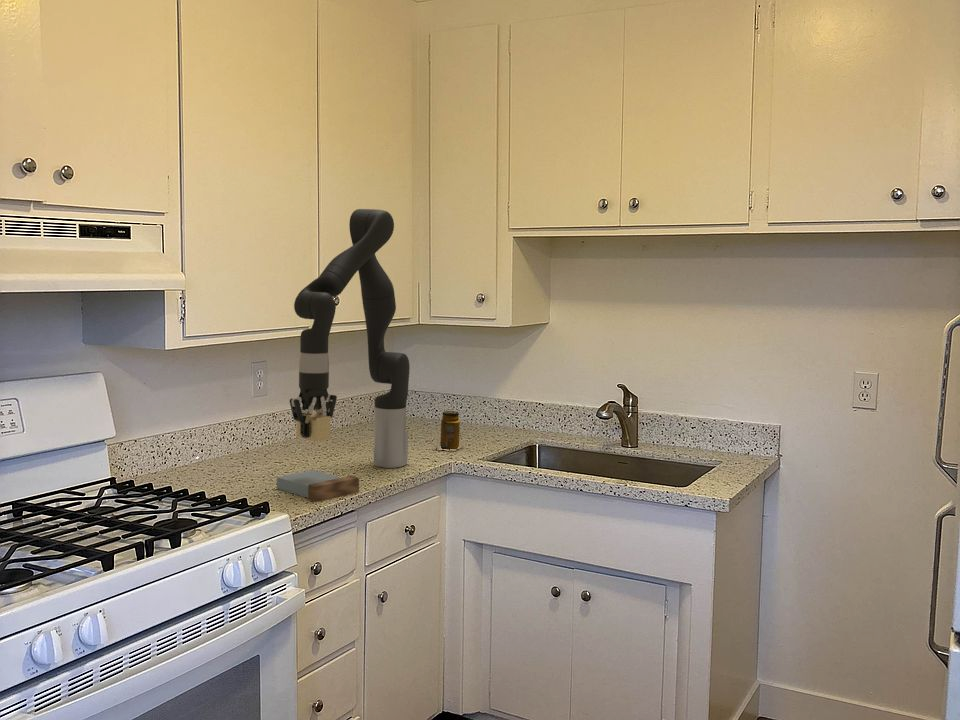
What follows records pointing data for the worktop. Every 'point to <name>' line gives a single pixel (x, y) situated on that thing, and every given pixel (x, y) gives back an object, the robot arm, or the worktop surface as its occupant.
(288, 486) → the flat grey square tile
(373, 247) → the robot arm
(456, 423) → the condiment
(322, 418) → the block
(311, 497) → the block
